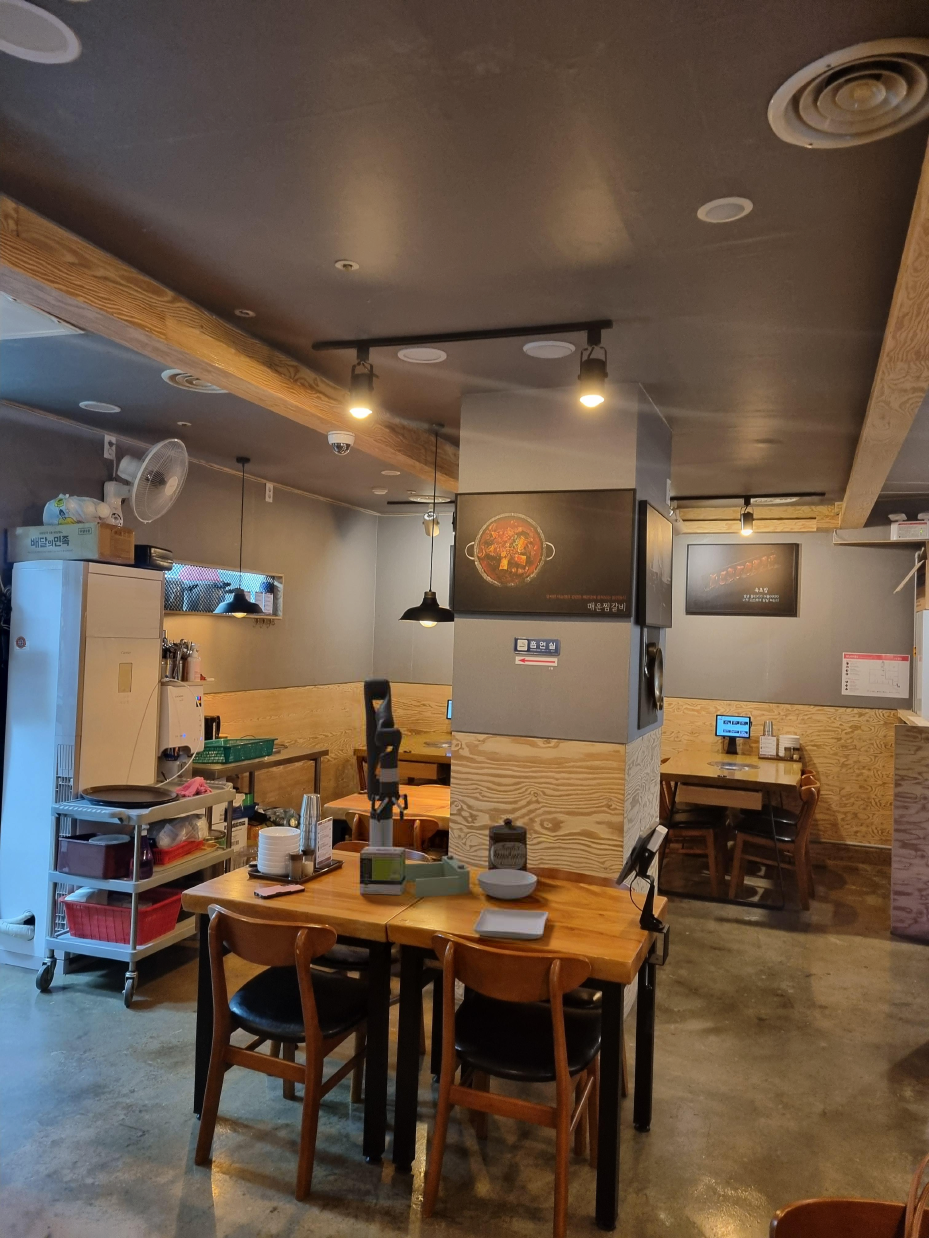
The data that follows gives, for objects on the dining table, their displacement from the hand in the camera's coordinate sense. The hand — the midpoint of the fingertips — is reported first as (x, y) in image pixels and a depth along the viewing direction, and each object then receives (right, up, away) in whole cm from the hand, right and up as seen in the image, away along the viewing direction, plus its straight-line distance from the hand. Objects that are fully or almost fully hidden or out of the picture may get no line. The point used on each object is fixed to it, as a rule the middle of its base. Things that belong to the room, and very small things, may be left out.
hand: (389, 821), depth 331 cm
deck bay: (+18, -18, -23) cm, 35 cm away
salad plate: (+44, -18, -68) cm, 83 cm away
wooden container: (+46, -19, -7) cm, 50 cm away
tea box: (0, -18, -29) cm, 34 cm away
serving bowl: (+44, -19, -33) cm, 58 cm away
